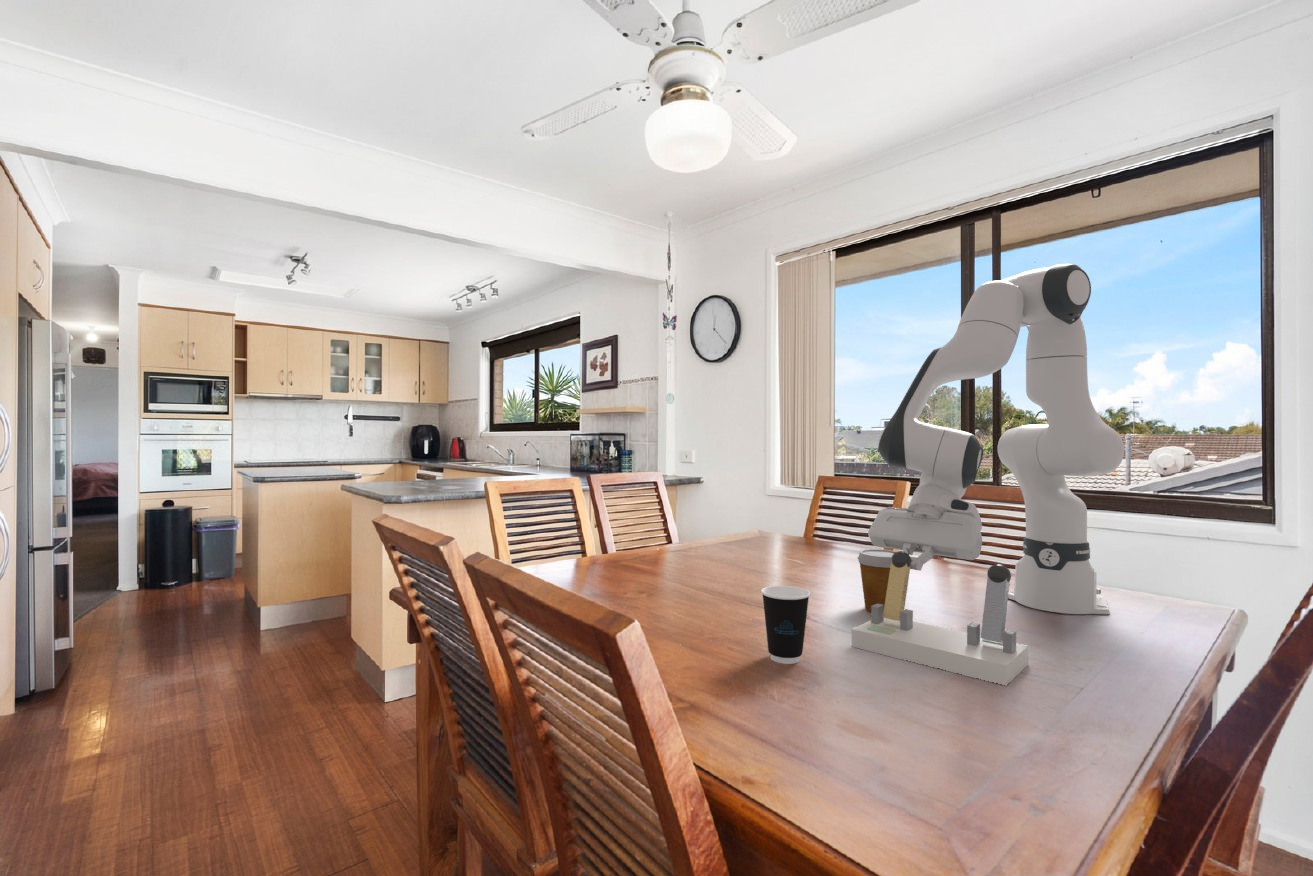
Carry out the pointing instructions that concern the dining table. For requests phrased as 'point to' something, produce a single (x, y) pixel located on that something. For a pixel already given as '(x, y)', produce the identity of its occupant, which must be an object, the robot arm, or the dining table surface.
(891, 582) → the brass lever
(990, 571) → the steel lever
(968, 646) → the switch panel
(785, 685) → the dining table surface
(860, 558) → the disposable coffee cup
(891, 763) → the dining table surface
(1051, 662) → the dining table surface
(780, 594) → the dixie cup
